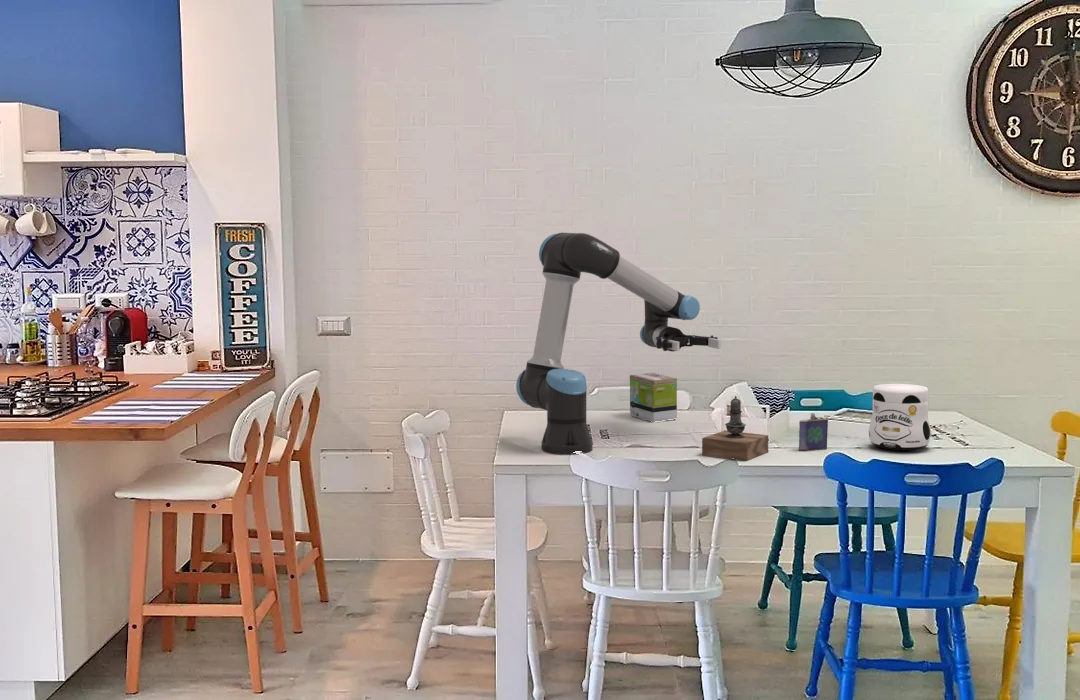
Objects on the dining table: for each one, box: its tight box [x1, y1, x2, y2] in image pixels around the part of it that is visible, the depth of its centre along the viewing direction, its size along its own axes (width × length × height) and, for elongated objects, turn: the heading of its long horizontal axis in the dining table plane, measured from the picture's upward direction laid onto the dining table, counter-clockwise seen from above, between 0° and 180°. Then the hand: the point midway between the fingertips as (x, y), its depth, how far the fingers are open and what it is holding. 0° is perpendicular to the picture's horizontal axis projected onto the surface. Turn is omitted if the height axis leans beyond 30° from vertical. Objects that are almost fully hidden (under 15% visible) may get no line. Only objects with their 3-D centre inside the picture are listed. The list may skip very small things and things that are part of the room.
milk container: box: [868, 383, 932, 451], centre depth 325 cm, size 17×17×18 cm
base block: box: [701, 429, 769, 462], centre depth 320 cm, size 14×14×5 cm
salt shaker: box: [724, 395, 747, 439], centre depth 319 cm, size 6×6×12 cm
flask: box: [798, 412, 829, 452], centre depth 324 cm, size 9×3×11 cm, turn 109°
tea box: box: [629, 372, 678, 423], centre depth 378 cm, size 15×10×15 cm, turn 28°
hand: (699, 345), depth 330 cm, fingers open, 13 cm apart
